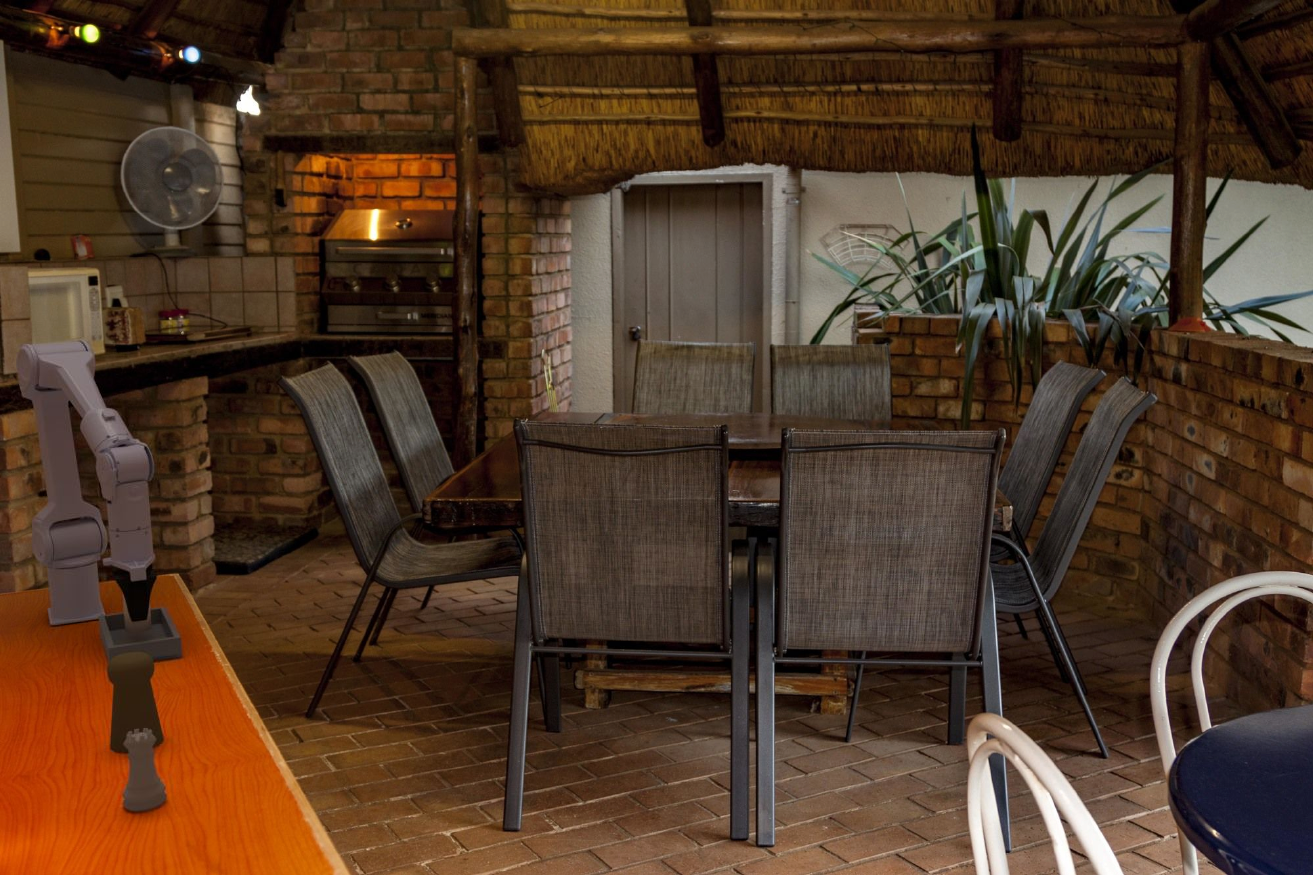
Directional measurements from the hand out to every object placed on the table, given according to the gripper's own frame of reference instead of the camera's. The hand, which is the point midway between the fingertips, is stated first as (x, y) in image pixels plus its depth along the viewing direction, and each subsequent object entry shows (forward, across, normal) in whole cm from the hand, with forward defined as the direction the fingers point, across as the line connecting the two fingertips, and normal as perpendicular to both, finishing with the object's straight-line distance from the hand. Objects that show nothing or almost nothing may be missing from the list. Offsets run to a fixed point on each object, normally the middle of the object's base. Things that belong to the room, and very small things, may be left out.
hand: (137, 616), depth 185 cm
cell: (+2, 0, 0) cm, 2 cm away
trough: (+4, 0, 0) cm, 4 cm away
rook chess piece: (+5, +57, -5) cm, 57 cm away
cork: (+5, +39, -4) cm, 40 cm away
